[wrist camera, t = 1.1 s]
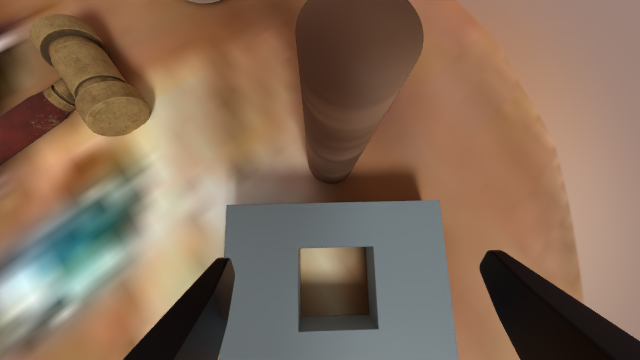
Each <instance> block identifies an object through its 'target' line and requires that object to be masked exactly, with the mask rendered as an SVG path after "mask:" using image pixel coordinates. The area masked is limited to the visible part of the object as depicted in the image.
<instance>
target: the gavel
mask: <svg viewBox="0 0 640 360" xmlns="http://www.w3.org/2000/svg"><path fill="white" fill-rule="evenodd" d="M30 37H31V40H32V42H33V43H34V45H35V47H36V48H37V50H38V51H39V53H40V54H41V56H42V57H43V59H44V60H45V61H46V62H47V63H48V64H49V65H51V66H52V67H54V68H55V69H56V71H57V72H58V74H59V75H60V77H61V79H60V80H58V81H57V82H55V83H54V85H52V86H50V87H49V88H48V89H46V90H45V91H43V92H40V93H38V94H36V95H33V96H31V97H29V98H27V99H26V100H24V101H23V102H21V103H20V104H18V105H17V106H15V107H14V108H12V109H11V110H10V111H8V112H7V113H5V114H4V115H2V116H1V117H0V165H1V164H2V163H4V162H5V161H7V160H8V159H9V158H11V157H12V156H14V155H15V154H16V153H18V152H19V151H21V150H22V149H24V148H25V147H26V146H28V145H29V144H31V143H32V142H34V141H35V140H36V139H38V138H39V137H41V136H42V135H44V134H45V133H46V132H48V131H49V130H51V129H52V128H54V127H55V126H56V125H58V124H59V123H61V122H62V121H63V120H64V119H65V118H66V117H67V116H68V114H69V113H70V112H71V111H73V110H74V109H75V108H76V109H77V111H78V112H79V114H80V116H81V117H82V119H83V120H84V122H85V123H86V125H87V126H88V128H89V129H90V130H91V131H93V132H94V133H96V134H99V135H103V136H122V135H126V134H129V133H131V132H132V131H134V130H135V129H137V128H138V127H140V126H141V125H143V124H145V123H146V122H147V120H148V119H149V117H150V109H149V107H148V105H147V104H146V102H145V101H144V100H143V98H142V97H141V95H140V94H139V93H138V91H137V90H136V89H135V88H134V87H132V86H131V85H129V84H127V82H126V81H125V79H124V78H123V77H122V75H121V74H120V72H119V71H118V69H117V68H116V67H115V65H114V64H113V62H112V61H111V60H110V58H109V57H108V53H107V49H106V47H105V45H104V43H103V42H102V41H101V39H100V38H99V36H98V35H97V34H96V32H95V31H94V30H93V28H92V27H91V26H90V25H88V24H87V23H86V22H84V21H82V20H80V19H78V18H76V17H73V16H70V15H65V14H50V15H46V16H43V17H41V18H39V19H37V20H36V21H35V22H34V23H33V24H32V26H31V29H30Z"/></svg>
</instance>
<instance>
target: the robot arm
mask: <svg viewBox="0 0 640 360" xmlns="http://www.w3.org/2000/svg"><path fill="white" fill-rule="evenodd" d="M480 273H481V275H482V278H483V280H484V283H485V285H486V288H487V290H488V293H489V295H490V298H491V300H492V303H493V305H494V308H495V310H496V312H497V315H498V317H499V319H500V321H501V323H502V325H503V327H504V329H505V331H506V333H507V335H508V336H509V338H510V340H511V342H512V344H513V346H514V348H515V350H516V352H517V354H518V356H519V358H520V360H640V341H639V340H637V339H636V338H634V337H633V336H631V335H629V334H628V333H627V332H625V331H623V330H622V329H620V328H619V327H617V326H616V325H614V324H613V323H611V322H610V321H608V320H607V319H605V318H604V317H602V316H601V315H599V314H598V313H596V312H595V311H593V310H592V309H590V308H589V307H587V306H585V305H584V304H582V303H581V302H579V301H578V300H576V299H575V298H573V297H572V296H570V295H569V294H567V293H566V292H564V291H563V290H561V289H560V288H558V287H557V286H555V285H554V284H552V283H551V282H549V281H548V280H546V279H544V278H543V277H541V276H540V275H538V274H537V273H535V272H534V271H532V270H531V269H529V268H528V267H526V266H525V265H523V264H522V263H520V262H519V261H517V260H516V259H514V258H513V257H511V256H510V255H508V254H507V253H505V252H503V251H501V250H489V251H487V253H486V254H485V256H484V258H483V260H482V262H481V263H480ZM234 281H235V271H234V268H233V264H232V261H231V259H230V258H228V257H224V258H217V259H216V260H215V261H214V262H213V263H212V264H211V265H210V266H209V267H208V268H207V270H206V271H205V272H204V273H203V274H202V275H201V276H200V277H199V278H198V279H197V280H196V281H195V282H194V284H193V285H192V286H191V287H190V288H189V289H188V290H187V291H186V292H185V293H184V294H183V295H182V296H181V298H180V299H179V300H178V301H177V302H176V303H175V304H174V305H173V306H172V307H171V308H170V309H169V310H168V311H167V313H166V314H165V315H164V316H163V317H162V318H161V319H160V320H159V321H158V322H157V323H156V324H155V325H154V327H153V328H152V329H151V330H150V331H149V332H148V333H147V334H146V335H145V336H144V337H143V338H142V339H141V341H140V342H139V343H138V344H137V345H136V346H135V347H134V348H133V349H132V350H131V351H130V352H129V353H128V354H127V356H126V357H125V358H124V359H123V360H218V356H219V353H220V349H221V345H222V342H223V338H224V335H225V331H226V327H227V323H228V317H229V311H230V305H231V299H232V293H233V287H234Z"/></svg>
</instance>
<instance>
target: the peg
mask: <svg viewBox="0 0 640 360" xmlns="http://www.w3.org/2000/svg"><path fill="white" fill-rule="evenodd" d="M296 44H297V54H298V63H299V73H300V83H301V93H302V103H303V112H304V122H305V132H306V142H307V152H308V162H309V167H310V170H311V172H312V174H313V175H314V176H315V177H316V178H317V179H319V180H320V181H322V182H325V183H337V182H340V181H342V180H343V179H345V178H346V177H347V176H348V175H349V173H350V172H351V170H352V169H353V167H354V165H355V164H356V162H357V160H358V159H359V157H360V155H361V154H362V152H363V150H364V149H365V147H366V145H367V144H368V142H369V140H370V139H371V137H372V135H373V134H374V132H375V130H376V129H377V127H378V125H379V124H380V122H381V120H382V119H383V117H384V115H385V114H386V112H387V110H388V109H389V107H390V105H391V104H392V102H393V100H394V99H395V97H396V95H397V94H398V92H399V91H400V89H401V87H402V86H403V84H404V82H405V81H406V79H407V77H408V76H409V74H410V72H411V71H412V69H413V67H414V66H415V64H416V62H417V60H418V58H419V56H420V54H421V51H422V47H423V28H422V24H421V20H420V18H419V16H418V14H417V12H416V10H415V9H414V7H413V6H412V5H411V3H410V2H409V1H408V0H307V2H306V3H305V4H304V6H303V7H302V9H301V11H300V13H299V16H298V19H297V23H296Z"/></svg>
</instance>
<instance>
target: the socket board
mask: <svg viewBox="0 0 640 360" xmlns="http://www.w3.org/2000/svg"><path fill="white" fill-rule="evenodd" d="M330 247H366V263H367V280H368V297H369V314H370V315H345V316H315V317H301V273H300V248H330ZM224 257H228V258H230V259H231V261H232V264H233V268H234V271H235V281H234V287H233V293H232V299H231V305H230V311H229V317H228V323H227V327H226V331H225V335H224V338H223V342H222V345H221V349H220V355H219V360H458V352H457V343H456V335H455V326H454V318H453V310H452V301H451V293H450V284H449V276H448V268H447V259H446V251H445V242H444V234H443V226H442V217H441V209H440V200H427V201H383V202H340V203H296V204H253V205H227V210H226V231H225V252H224Z"/></svg>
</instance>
